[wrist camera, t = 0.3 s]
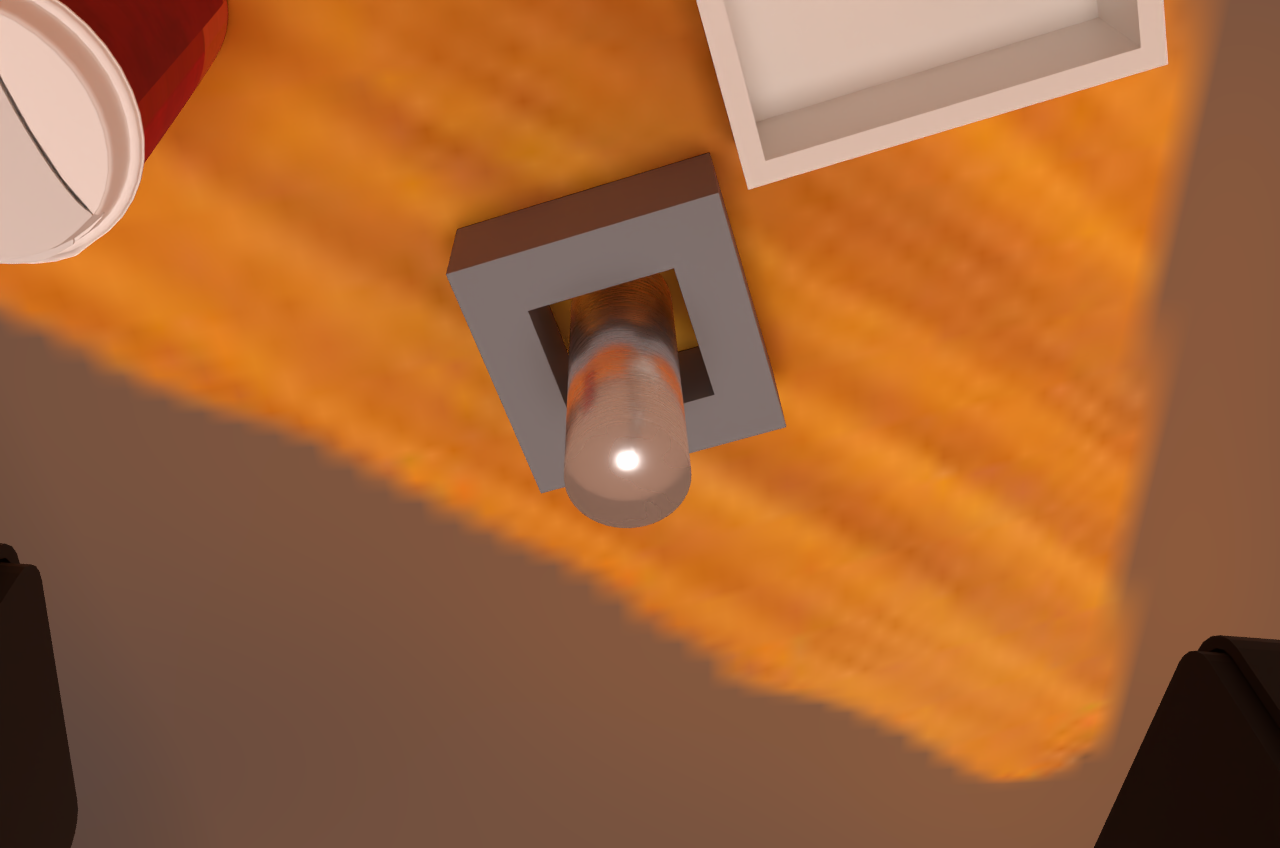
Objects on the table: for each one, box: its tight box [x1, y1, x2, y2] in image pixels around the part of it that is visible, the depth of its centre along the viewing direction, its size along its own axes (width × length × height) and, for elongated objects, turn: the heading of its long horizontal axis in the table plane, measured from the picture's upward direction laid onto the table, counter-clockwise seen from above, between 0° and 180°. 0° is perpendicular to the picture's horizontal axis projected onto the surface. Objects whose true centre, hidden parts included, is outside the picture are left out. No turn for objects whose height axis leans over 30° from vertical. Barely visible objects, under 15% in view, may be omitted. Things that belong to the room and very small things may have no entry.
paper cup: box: [0, 0, 228, 264], centre depth 36 cm, size 8×8×14 cm
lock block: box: [446, 153, 786, 493], centre depth 47 cm, size 10×10×4 cm
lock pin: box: [564, 273, 691, 528], centre depth 43 cm, size 4×4×12 cm
